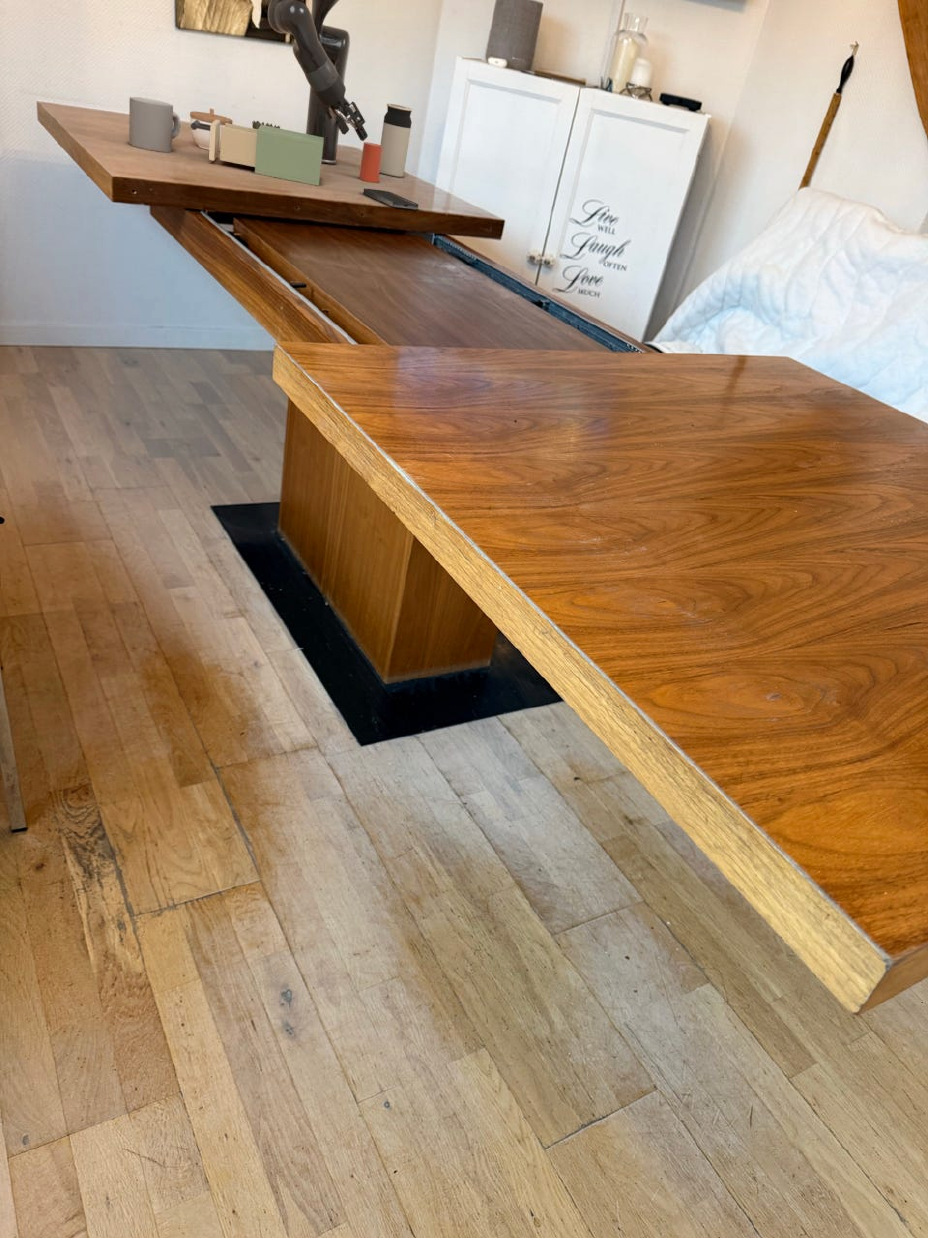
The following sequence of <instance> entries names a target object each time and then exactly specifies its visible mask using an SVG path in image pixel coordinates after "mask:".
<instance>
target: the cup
mask: <svg viewBox="0 0 928 1238" xmlns="http://www.w3.org/2000/svg"><path fill="white" fill-rule="evenodd" d="M251 124H252V127H251V128H253V129H259V127H260V125H265V126H270V127H275V128H280V129H281V126H280V125H276V124H275V125H274V126H273V123H269V122H267V123H265V122H264V121H262V122H260V121H259V120H256V121H255V120H253V121H252V122H251Z"/></svg>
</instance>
